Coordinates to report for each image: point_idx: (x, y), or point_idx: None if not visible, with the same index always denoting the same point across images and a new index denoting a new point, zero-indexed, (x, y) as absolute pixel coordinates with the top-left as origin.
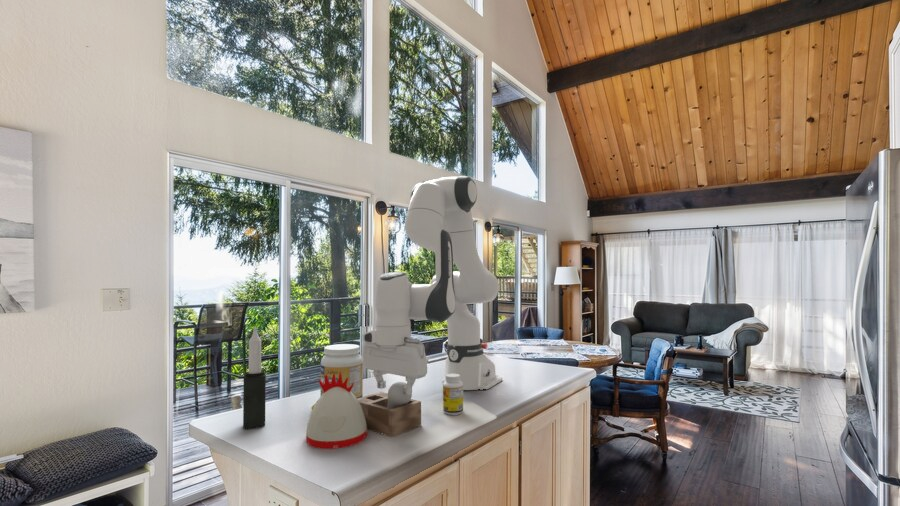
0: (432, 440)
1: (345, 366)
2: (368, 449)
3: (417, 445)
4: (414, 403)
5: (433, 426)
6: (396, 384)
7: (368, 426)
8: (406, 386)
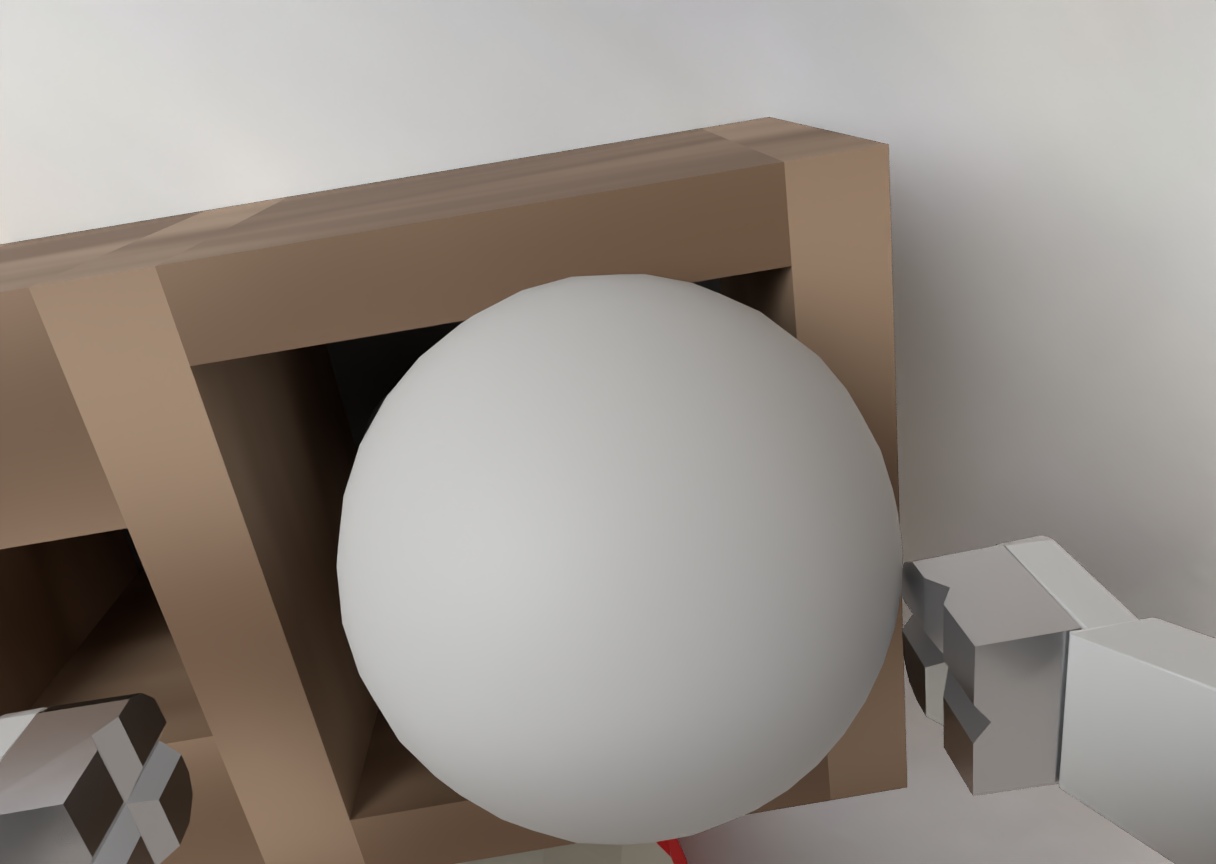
0: (1212, 335)
1: None
2: (865, 844)
3: (1159, 522)
4: (885, 331)
5: (925, 4)
6: (684, 820)
7: None
8: (1138, 814)
